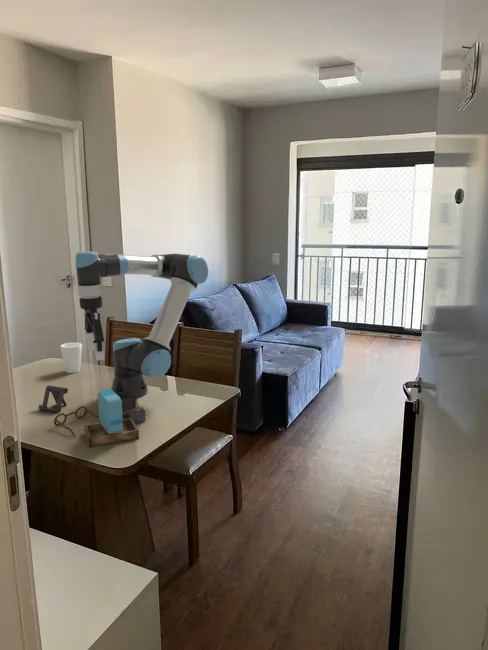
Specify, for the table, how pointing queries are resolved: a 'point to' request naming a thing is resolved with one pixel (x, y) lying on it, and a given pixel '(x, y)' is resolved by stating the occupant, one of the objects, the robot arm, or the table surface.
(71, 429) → the glasses
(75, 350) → the foam cup
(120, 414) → the data package
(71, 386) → the table surface
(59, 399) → the portable electronic device stand
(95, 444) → the tray
